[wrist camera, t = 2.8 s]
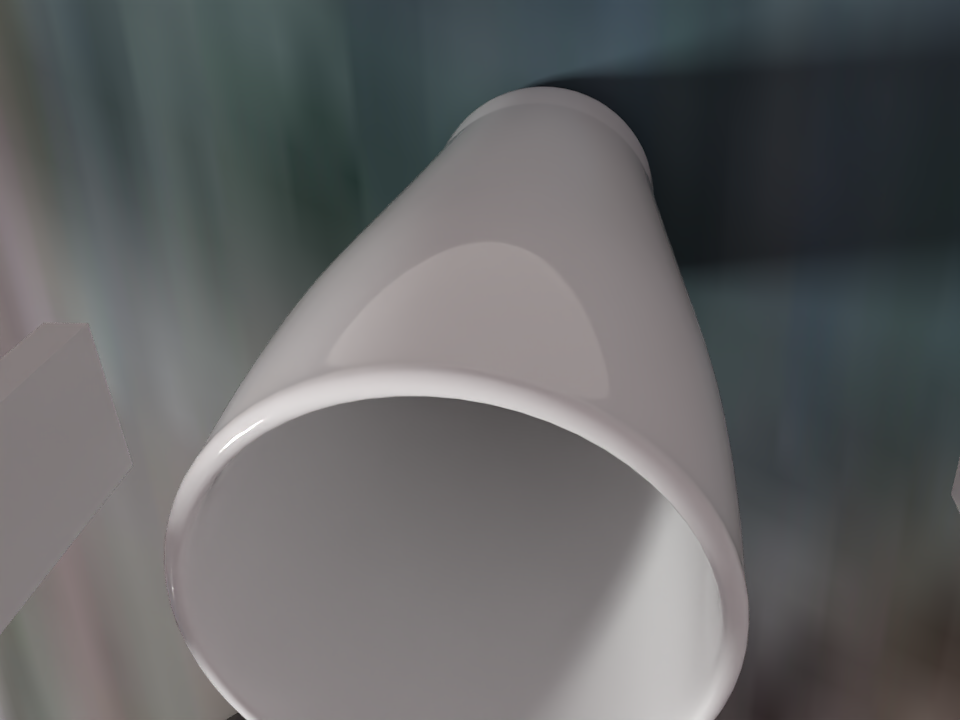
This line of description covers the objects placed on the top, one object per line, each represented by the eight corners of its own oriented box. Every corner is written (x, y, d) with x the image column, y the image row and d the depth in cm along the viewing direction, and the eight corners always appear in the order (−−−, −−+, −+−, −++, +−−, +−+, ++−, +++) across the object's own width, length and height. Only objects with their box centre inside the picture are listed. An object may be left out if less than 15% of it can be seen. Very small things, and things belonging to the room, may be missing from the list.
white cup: (416, 35, 22) (111, 325, 9) (705, 62, 21) (834, 416, 8) (410, 292, 25) (182, 774, 12) (658, 321, 24) (696, 860, 12)
